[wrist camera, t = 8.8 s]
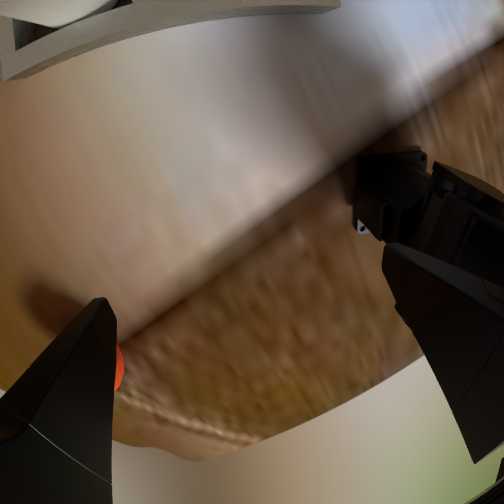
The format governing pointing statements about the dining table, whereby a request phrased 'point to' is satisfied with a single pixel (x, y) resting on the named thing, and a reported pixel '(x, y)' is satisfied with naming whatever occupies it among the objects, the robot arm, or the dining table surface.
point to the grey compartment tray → (126, 28)
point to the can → (54, 10)
